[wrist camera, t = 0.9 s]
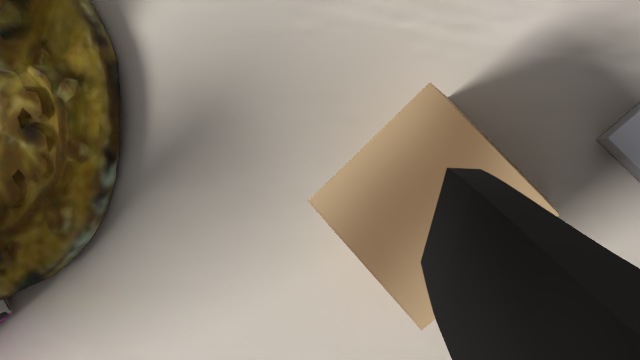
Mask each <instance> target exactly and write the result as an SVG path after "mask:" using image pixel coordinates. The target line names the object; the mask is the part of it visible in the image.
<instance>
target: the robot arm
mask: <svg viewBox="0 0 640 360" xmlns="http://www.w3.org/2000/svg"><path fill="white" fill-rule="evenodd" d="M1 261H2V254H1V250H0V264H1ZM421 266H422V270H423V275H424V279H425V283H426V287H427V291H428V295H429V299H430V302H431V306H432V310H433V313H434V316H435V318H436V321H437V324H438V326H439V329H440V331H441V333H442V336H443V338H444V341H445V343H446V346H447V348H448V351H449V353H450V356H451V358H452V360H640V269H639V268H638V267H636V266H634V265H633V264H631V263H629V262H627V261H626V260H624V259H622V258H621V257H619V256H617V255H616V254H614V253H612V252H611V251H609V250H608V249H606V248H605V247H603V246H601V245H600V244H598V243H597V242H595V241H593V240H592V239H590V238H589V237H587V236H586V235H584V234H583V233H581V232H579V231H578V230H576V229H575V228H573V227H572V226H570V225H569V224H567V223H566V222H564V221H563V220H561V219H560V218H558V217H557V216H555V215H554V214H552V213H551V212H549V211H548V210H546V209H545V208H543V207H542V206H540V205H539V204H537V203H536V202H534V201H533V200H531V199H530V198H528V197H527V196H525V195H524V194H522V193H521V192H519V191H518V190H516V189H514V188H513V187H511V186H510V185H508V184H507V183H505V182H503V181H502V180H500V179H499V178H497V177H495V176H493V175H492V174H490V173H488V172H486V171H484V170H482V169H466V168H447V169H446V173H445V176H444V180H443V184H442V187H441V191H440V194H439V198H438V201H437V205H436V209H435V212H434V216H433V219H432V223H431V226H430V230H429V234H428V237H427V241H426V244H425V248H424V252H423V255H422V259H421Z"/></svg>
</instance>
